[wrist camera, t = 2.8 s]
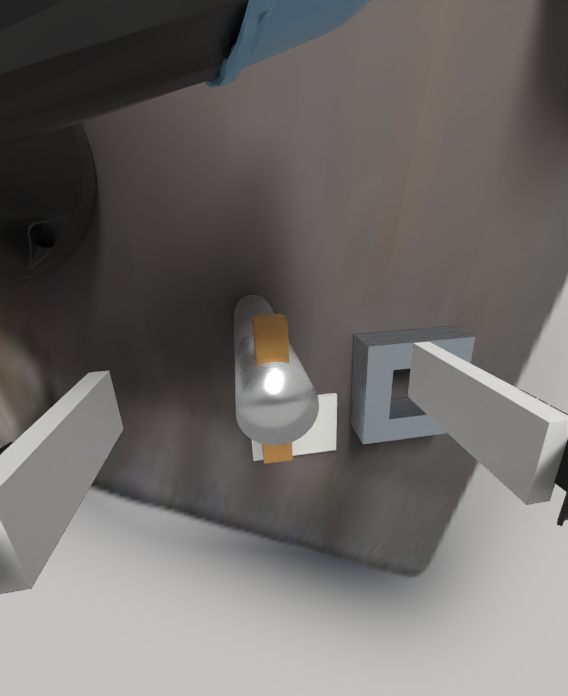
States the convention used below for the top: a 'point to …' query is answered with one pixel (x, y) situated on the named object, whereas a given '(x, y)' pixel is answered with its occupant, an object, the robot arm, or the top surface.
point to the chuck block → (376, 382)
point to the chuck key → (270, 381)
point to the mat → (313, 431)
